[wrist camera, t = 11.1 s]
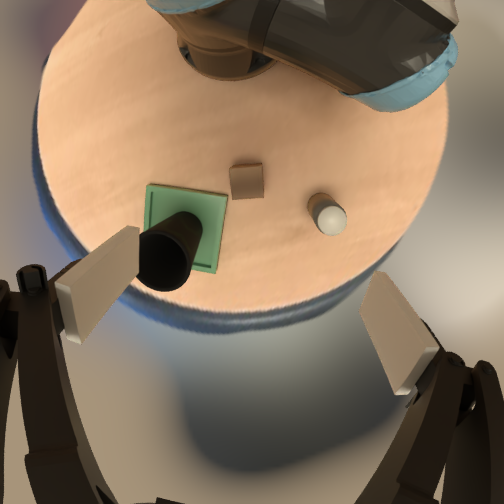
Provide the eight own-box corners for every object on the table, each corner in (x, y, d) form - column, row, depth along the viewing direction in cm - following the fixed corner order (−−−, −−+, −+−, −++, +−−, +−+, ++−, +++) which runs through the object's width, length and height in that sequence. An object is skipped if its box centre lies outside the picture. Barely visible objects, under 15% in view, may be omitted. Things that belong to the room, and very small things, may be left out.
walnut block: (233, 165, 39) (229, 168, 34) (261, 163, 38) (261, 166, 34) (236, 192, 40) (232, 199, 35) (263, 190, 40) (263, 197, 35)
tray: (150, 183, 40) (146, 185, 38) (228, 195, 40) (226, 197, 39) (146, 255, 44) (142, 259, 43) (216, 269, 45) (215, 274, 43)
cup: (187, 261, 44) (164, 303, 33) (152, 229, 42) (117, 261, 31) (220, 228, 42) (204, 263, 30) (182, 193, 40) (152, 216, 29)
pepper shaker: (310, 190, 39) (321, 202, 32) (336, 196, 39) (352, 209, 32) (304, 216, 41) (313, 233, 34) (330, 222, 41) (343, 240, 34)
